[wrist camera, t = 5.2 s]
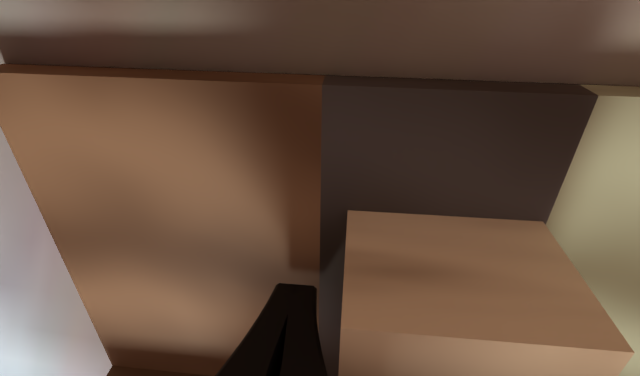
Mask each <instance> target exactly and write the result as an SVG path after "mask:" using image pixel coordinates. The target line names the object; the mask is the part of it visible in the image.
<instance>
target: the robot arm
mask: <svg viewBox="0 0 640 376" xmlns="http://www.w3.org/2000/svg"><path fill="white" fill-rule="evenodd" d="M215 376H328V375H327V371H326V367H325V363H324V359H323V354H322V350H321V344H320V339H319V333H318V326H317V288H316V287H314V286H312V285H299V284H286V283H278V284H277V285H276V286H275V288H274V290H273V292H272V294H271V296H270V298H269V299H268V301H267V303H266V305H265V306H264V308H263V310H262V311H261V313H260V315H259V316H258V318H257V319H256V321H255V322H254V324H253V325H252V327H251V328H250V330H249V331H248V333H247V334H246V336H245V337H244V339H243V340H242V341H241V343H240V344H239V345H238V347H237V348H236V349H235V351H234V352H233V353H232V355H231V356H230V357H229V359H228V360H227V361H226V363H225V364H224V365H223V366H222V368H221V369H220V370H219V371H218V372H217V374H216V375H215Z"/></svg>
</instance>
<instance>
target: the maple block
mask: <svg viewBox="0 0 640 376" xmlns="http://www.w3.org/2000/svg"><path fill="white" fill-rule="evenodd" d="M634 353H635V352H634V351H633V350H632V348H631V347H630V345H629V344H628V342H627V341H626V339H625V338H624V337H623V335H622V334H621V332H620V331H619V329H618V328H617V327H616V325H615V324H614V322H613V321H612V319H611V318H610V317H609V315H608V314H607V312H606V311H605V309H604V308H603V307H602V305H601V304H600V302H599V301H598V299H597V298H596V297H595V295H594V294H593V292H592V291H591V289H590V288H589V287H588V285H587V284H586V282H585V281H584V279H583V278H582V277H581V275H580V274H579V272H578V271H577V269H576V268H575V267H574V265H573V264H572V262H571V261H570V259H569V258H568V256H567V255H566V254H565V252H564V251H563V249H562V248H561V246H560V245H559V244H558V242H557V241H556V239H555V238H554V236H553V235H552V234H551V232H550V231H549V229H548V228H547V226H546V225H545V224H544V222H543V221H526V220H508V219H491V218H474V217H456V216H439V215H422V214H404V213H387V212H370V211H352V210H348V212H347V229H346V246H345V263H344V280H343V297H342V314H341V332H340V353H339V373H338V376H618V375H619V374H620V373H621V371H622V370H623V368H624V367H625V366H626V364H627V363H628V361H629V360H630V359H631V357H632V356H633V354H634Z"/></svg>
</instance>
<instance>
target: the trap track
mask: <svg viewBox="0 0 640 376" xmlns="http://www.w3.org/2000/svg"><path fill="white" fill-rule="evenodd" d="M0 126H1V128H2V130H3V133H4V135H5V137H6V139H7V141H8V143H9V145H10V148H11V150H12V152H13V154H14V156H15V158H16V160H17V163H18V165H19V167H20V169H21V171H22V173H23V175H24V177H25V180H26V182H27V184H28V186H29V188H30V190H31V192H32V195H33V197H34V199H35V201H36V203H37V205H38V207H39V210H40V212H41V214H42V216H43V218H44V220H45V222H46V224H47V227H48V229H49V231H50V233H51V235H52V237H53V239H54V242H55V244H56V246H57V248H58V250H59V252H60V254H61V257H62V259H63V261H64V263H65V265H66V267H67V269H68V271H69V274H70V276H71V278H72V280H73V282H74V284H75V286H76V289H77V291H78V293H79V295H80V297H81V299H82V301H83V304H84V306H85V308H86V310H87V312H88V314H89V316H90V318H91V321H92V323H93V325H94V327H95V329H96V331H97V333H98V336H99V338H100V340H101V342H102V344H103V346H104V348H105V351H106V353H107V355H108V357H109V359H110V361H111V363H112V365H113V366H112V368H111V369H110V371H109V372H108V374H107V376H215V375H216V374H217V372H218V371H219V370H220V369H221V368H222V366H223V365H224V364H225V363H226V361H227V360H228V359H229V357H230V356H231V355H232V353H233V352H234V351H235V349H236V348H237V347H238V345H239V344H240V343H241V341H242V340H243V339H244V337H245V336H246V334H247V333H248V331H249V330H250V328H251V327H252V325H253V324H254V322H255V321H256V319H257V318H258V316H259V315H260V313H261V311H262V310H263V308H264V306H265V305H266V303H267V301H268V299H269V298H270V296H271V294H272V292H273V290H274V288H275V286H276V285H277V284H278V283H286V284H299V285H312V286H314V287H316V288H317V326H318V333H319V339H320V344H321V350H322V354H323V359H324V363H325V367H326V371H327V375H328V376H338V373H339V353H340V332H341V314H342V297H343V280H344V263H345V246H346V229H347V212H348V210H352V211H370V212H387V213H404V214H422V215H439V216H456V217H474V218H491V219H508V220H526V221H543V222H544V224H545V225H546V226H547V228H548V229H549V231H550V232H551V234H552V235H553V236H554V238H555V239H556V241H557V242H558V244H559V245H560V246H561V248H562V249H563V251H564V252H565V254H566V255H567V256H568V258H569V259H570V261H571V262H572V264H573V265H574V267H575V268H576V269H577V271H578V272H579V274H580V275H581V277H582V278H583V279H584V281H585V282H586V284H587V285H588V287H589V288H590V289H591V291H592V292H593V294H594V295H595V297H596V298H597V299H598V301H599V302H600V304H601V305H602V307H603V308H604V309H605V311H606V312H607V314H608V315H609V317H610V318H611V319H612V321H613V322H614V324H615V325H616V327H617V328H618V329H619V331H620V332H621V334H622V335H623V337H624V338H625V339H626V341H627V342H628V344H629V345H630V347H631V348H632V350H633V351H634V352H635V353H634V354H633V356H632V357H631V359H630V360H629V361H628V363H627V364H626V366H625V367H624V368H623V370H622V371H621V373H620V374H619V375H618V376H640V87H637V86H609V85H581V84H553V83H526V82H498V81H470V80H442V79H414V78H386V77H358V76H330V75H302V74H274V73H247V72H219V71H191V70H163V69H135V68H107V67H79V66H51V65H23V64H1V65H0Z"/></svg>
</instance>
